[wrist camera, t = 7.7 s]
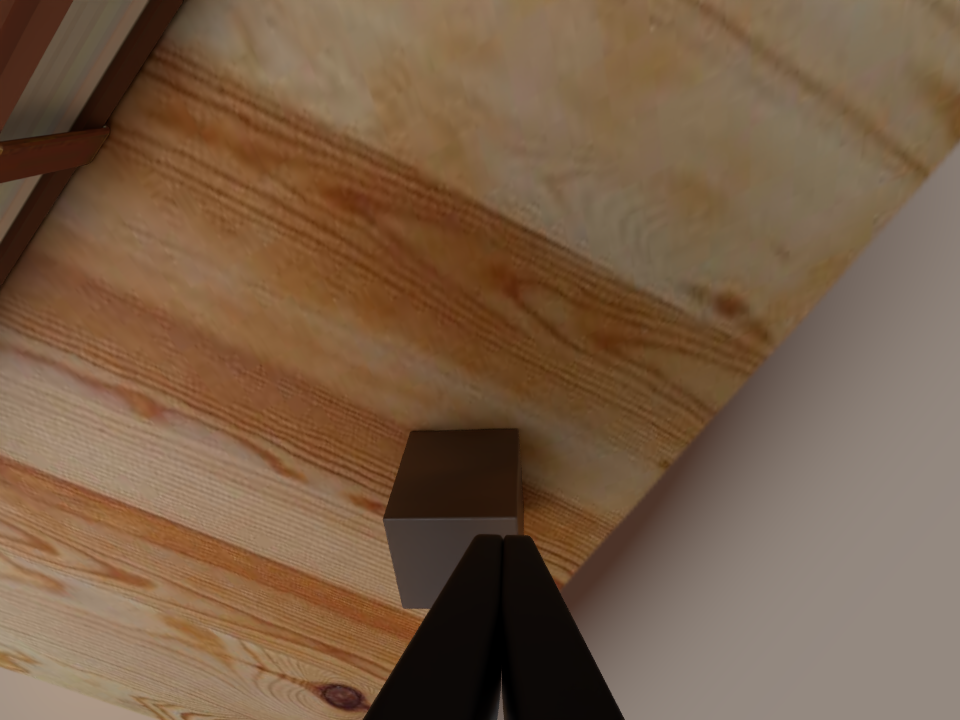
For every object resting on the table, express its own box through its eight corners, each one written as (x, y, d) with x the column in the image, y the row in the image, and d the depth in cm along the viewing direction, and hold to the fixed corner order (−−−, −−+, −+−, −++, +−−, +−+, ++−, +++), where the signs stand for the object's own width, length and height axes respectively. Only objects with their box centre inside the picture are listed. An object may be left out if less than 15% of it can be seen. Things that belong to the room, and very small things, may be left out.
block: (518, 428, 22) (517, 517, 18) (524, 511, 24) (523, 610, 20) (409, 431, 23) (382, 518, 18) (424, 512, 25) (402, 609, 20)
